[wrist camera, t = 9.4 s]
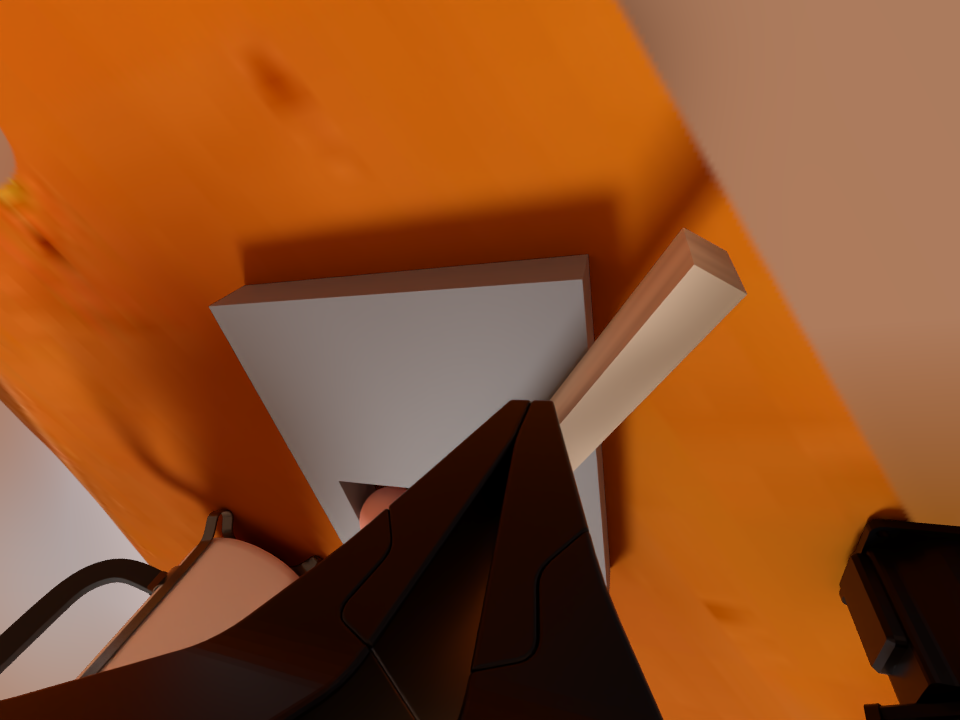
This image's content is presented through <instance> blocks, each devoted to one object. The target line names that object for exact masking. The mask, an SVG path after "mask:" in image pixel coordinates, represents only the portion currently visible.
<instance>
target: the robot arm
mask: <svg viewBox="0 0 960 720" xmlns="http://www.w3.org/2000/svg"><path fill="white" fill-rule="evenodd" d="M840 588H841V589H840V591H839V595H840V597H841V600H842V602H843V603H844V604H846V605H847V606H848V608H849V611H850V613H851V616H852V619H853V621H854V624H855V626H856V629H857V631H858V634H859V636H860V639H861V642H862V644H863V647H864V649H865V652H866V654H867V657H868V660H869V662H870V665H871V666H872V667H873V668H874V669H875V670H876V671H877V672H878V673H881V674H887V675H888V676H889V679H890V681H891V684H892V686H893V689H894V691H895V693H896V696H897V698H898V701H899V703H900V704H899V705H886V706H881V705H880V704H878V703H876V704H864V711H865V716H866V720H960V526H949V525H937V524H927V523H916V522H904V521H893V520H882V519H881V520H872V521H870V522H868V523H867V524H866V526H865V528H864V531H863V533H862V536H861V538H860V541H859V543H858V546H857V549H856V551H855V553H854V554H852V555H851V556H850V558H849V561H848V563H847V566H846V568H845V571H844V573H843V576H842V579H841V581H840ZM0 720H663V718H662V715H661V713H660V711H659V709H658V706H657V704H656V702H655V699H654V697H653V695H652V693H651V690H650V688H649V686H648V683H647V681H646V679H645V677H644V674H643V672H642V670H641V667H640V665H639V663H638V661H637V658H636V656H635V654H634V651H633V649H632V647H631V645H630V642H629V640H628V638H627V636H626V633H625V631H624V629H623V626H622V624H621V622H620V619H619V617H618V614H617V612H616V609H615V607H614V604H613V602H612V599H611V597H610V594H609V592H608V589H607V587H606V584H605V581H604V578H603V575H602V571H601V568H600V565H599V562H598V559H597V556H596V552H595V549H594V545H593V542H592V538H591V535H590V533H589V528H588V524H587V521H586V517H585V514H584V510H583V506H582V503H581V499H580V496H579V492H578V488H577V485H576V481H575V477H574V474H573V470H572V467H571V463H570V459H569V456H568V452H567V449H566V445H565V441H564V438H563V434H562V431H561V427H560V423H559V420H558V416H557V413H556V409H555V405H554V402H553V401H551V400H534V401H532V402H531V401H530V400H510V401H509V402H507V403H506V404H505V405H504V406H503V407H502V408H501V409H499V410H498V411H497V412H496V413H495V414H494V415H493V416H491V417H490V418H489V419H488V420H487V421H486V422H485V423H483V424H482V425H481V426H480V427H479V428H478V429H476V430H475V431H474V432H473V433H472V434H471V435H470V436H468V437H467V438H466V439H465V440H464V441H463V442H462V443H460V444H459V445H458V446H457V447H456V448H455V449H454V450H452V451H451V452H450V453H449V454H448V455H447V456H446V457H444V458H443V459H442V460H441V461H440V462H439V463H437V464H436V465H435V466H434V467H433V468H432V469H431V470H429V471H428V472H427V473H426V474H425V475H424V476H423V477H421V478H420V479H419V480H418V481H417V482H416V483H415V484H413V485H412V486H411V487H410V488H409V489H408V490H407V491H405V492H404V493H403V494H402V495H401V496H400V497H398V498H397V499H396V500H395V501H394V502H393V503H392V504H390V505H389V509H384V510H383V511H382V512H381V513H380V514H379V515H378V516H376V517H375V518H374V519H373V520H372V521H371V522H370V523H368V524H367V525H366V526H365V527H364V528H362V529H361V530H360V531H359V532H358V533H356V534H355V535H354V536H353V537H352V538H350V539H349V540H348V541H347V542H346V543H344V544H343V545H342V546H340V547H339V548H338V549H336V550H335V551H334V552H333V553H331V554H330V555H329V556H327V557H326V558H325V559H323V560H322V561H321V562H320V563H318V564H317V565H316V566H314V567H313V568H312V569H310V570H309V571H307V572H306V573H305V574H303V575H302V576H301V577H299V578H298V579H297V580H295V581H294V582H293V583H291V584H290V585H288V586H287V587H286V588H284V589H283V590H282V591H280V592H279V593H278V594H276V595H275V596H274V597H272V598H271V599H269V600H268V601H267V602H265V603H264V604H263V605H261V606H260V607H259V608H257V609H256V610H255V611H253V612H252V613H251V614H249V615H248V616H246V617H245V618H244V619H242V620H241V621H239V622H238V623H236V624H235V625H233V626H232V627H230V628H228V629H227V630H225V631H223V632H221V633H220V634H218V635H216V636H214V637H212V638H210V639H208V640H206V641H203V642H201V643H198V644H196V645H193V646H190V647H187V648H184V649H181V650H177V651H174V652H170V653H167V654H163V655H160V656H156V657H153V658H149V659H146V660H142V661H139V662H135V663H132V664H128V665H125V666H121V667H118V668H114V669H111V670H107V671H104V672H100V673H97V674H93V675H90V676H86V677H83V678H79V679H76V680H73V681H69V682H65V683H62V684H58V685H55V686H51V687H48V688H44V689H41V690H37V691H34V692H30V693H27V694H23V695H20V696H17V697H12V698H8V699H4V700H0Z"/></svg>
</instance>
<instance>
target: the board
mask: <svg viewBox="0 0 960 720" xmlns="http://www.w3.org/2000/svg"><path fill="white" fill-rule="evenodd" d="M209 308H210V310H211V312H212V313H213V315H214V317H215V319H216V320H217V322H218V324H219V326H220V327H221V329H222V331H223V333H224V335H225V336H226V338H227V340H228V342H229V343H230V345H231V347H232V349H233V350H234V352H235V354H236V356H237V357H238V359H239V361H240V363H241V365H242V366H243V368H244V370H245V372H246V373H247V375H248V377H249V379H250V380H251V382H252V384H253V386H254V388H255V389H256V391H257V393H258V395H259V396H260V398H261V400H262V402H263V403H264V405H265V407H266V409H267V410H268V412H269V414H270V416H271V418H272V419H273V421H274V423H275V425H276V426H277V428H278V430H279V432H280V433H281V435H282V437H283V439H284V441H285V442H286V444H287V446H288V448H289V449H290V451H291V453H292V455H293V456H294V458H295V460H296V462H297V463H298V465H299V467H300V469H301V471H302V472H303V474H304V476H305V478H306V479H307V481H308V483H309V485H310V486H311V488H312V490H313V492H314V493H315V495H316V497H317V499H318V501H319V502H320V504H321V506H322V508H323V509H324V511H325V513H326V515H327V516H328V518H329V520H330V522H331V524H332V525H333V527H334V529H335V531H336V532H337V534H338V536H339V538H340V539H341V541H342V543H343V544H344V543H346V542H347V541H348V540H349V539H350V538H352V537H353V536H354V535H355V534H356V533H358V532H359V531H360V530H361V529H360V523H359V519H360V512H361V509H362V507H363V504H364V503H365V501H366V500H367V498H368V497H369V496H370V495H371V494H372V493H374V492H375V491H376V488H375V486H374V485H384V486H394V487H404V488H410V487H411V486H412V485H413V484H415V483H416V482H417V481H418V480H419V479H420V478H421V477H423V476H424V475H425V474H426V473H427V472H428V471H429V470H431V469H432V468H433V467H434V466H435V465H436V464H437V463H439V462H440V461H441V460H442V459H443V458H444V457H446V456H447V455H448V454H449V453H450V452H451V451H452V450H454V449H455V448H456V447H457V446H458V445H459V444H460V443H462V442H463V441H464V440H465V439H466V438H467V437H468V436H470V435H471V434H472V433H473V432H474V431H475V430H476V429H478V428H479V427H480V426H481V425H482V424H483V423H485V422H486V421H487V420H488V419H489V418H490V417H491V416H493V415H494V414H495V413H496V412H497V411H498V410H499V409H501V408H502V407H503V406H504V405H505V404H506V403H507V402H509V401H510V400H530V401H531V402H532V401H534V400H550V399H551V398H552V397H553V395H554V394H555V393H556V391H557V390H558V389H559V388H560V386H561V385H562V384H563V382H564V381H565V380H566V378H567V377H568V376H569V375H570V373H571V372H572V371H573V369H574V368H575V367H576V366H577V364H578V363H579V362H580V360H581V359H582V358H583V356H584V355H585V354H586V353H587V351H588V350H589V349H590V347H591V346H592V345H593V343H594V330H593V315H592V301H591V287H590V273H589V258H588V254H585V255H574V256H563V257H552V258H541V259H530V260H519V261H508V262H497V263H486V264H475V265H464V266H453V267H442V268H431V269H420V270H409V271H398V272H387V273H376V274H365V275H354V276H343V277H332V278H321V279H310V280H299V281H288V282H277V283H266V284H256V285H245V286H243V287H241V288H239V289H238V290H236V291H234V292H232V293H231V294H229V295H227V296H226V297H224V298H222V299H220V300H219V301H217V302H215V303H213V304H212V305H210V306H209ZM573 474H574V477H575V481H576V485H577V488H578V492H579V496H580V499H581V503H582V506H583V510H584V514H585V517H586V521H587V524H588V528H589V533H590V535H591V538H592V542H593V545H594V549H595V552H596V556H597V559H598V562H599V565H600V568H601V571H602V575H603V578H604V581H605V584H606V587H607V589H608V592H609V586H610V558H609V544H608V529H607V515H606V501H605V487H604V472H603V458H602V444H600V445H599V446H598V447H597V448H596V449H595V450H594V451H593V452H592V453H591V454H590V455H589V456H588V457H587V458H586V459H585V460H584V461H583V462H582V463H581V464H580V465H579V466H578V467H577V468H576V469H575V470H574V472H573Z"/></svg>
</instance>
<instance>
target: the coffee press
mask: <svg viewBox="0 0 960 720" xmlns="http://www.w3.org/2000/svg"><path fill="white" fill-rule="evenodd" d="M220 514H222V516H223V523H222V534H223V536H224V538H213V537H214V534H215V531H216V526H217V521H218V517H219V515H220ZM321 561H322V560H321V559H320V558H319V557H318V556H312V557H310V558H309V559H307V560H306V561H304V562H303V563H301V564H299V565H297V566H287V565H286V564H285V563H284V562H282V561H281V560H280V559H278V558H277V557H275V556H274V555H272V554H270V553H269V552H267V551H265V550H263V549H261V548H259V547H257V546H255V545H252V544H250V543H247V542H244V541H241V540H237V539H236V538H235V536H234V534H233V514H232V512H231V511H229V510H216V511H213V512H211V513H210V514H209V516H208V518H207V522H206V527H205V531H204V535H203V538H202V540H201V541H200V543H199V544H198V545H197V546H196V547H195V548H194V549H193V550H192V551H191V552H190V553H189V554H188V555H187V556H186V558H185V559H184V560H183V561H182V562H181V563H180V564H179V565H178V566H176V567H174V568H172V569H171V570H170V571H169V572H168V573H167V572H165V571H161V570H159V569H157V568H154V567H152V566H150V565H147V564H145V563H141V562H138V561H134V560H130V559H111V560H105V561H102V562H98V563H95V564H93V565H90V566H87V567H85V568H83V569H81V570H79V571H78V572H76V573H74V574H72V575H71V576H69V577H68V578H67V579H65V580H64V581H62V582H61V583H60V584H58V585H57V586H56V587H54V588H53V589H52V590H51V591H50V592H49V593H47V594H46V595H45V596H44V597H43V598H41V599H40V600H39V601H38V602H37V603H36V604H35V605H33V606H32V607H31V608H30V609H29V610H28V611H27V612H26V613H25V614H23V615H22V616H21V617H20V618H19V619H18V620H17V621H16V622H15V623H13V624H12V625H11V626H10V627H9V628H8V629H7V630H6V631H5V632H4V633H3V634H1V635H0V674H1V673H2V672H3V671H4V670H5V669H6V668H7V667H8V666H9V665H10V664H11V663H12V662H13V661H14V660H15V659H16V658H17V657H18V656H19V655H20V654H21V653H22V652H23V651H24V650H25V649H26V648H28V646H30V645H31V644H32V643H33V642H34V641H35V640H36V638H38V637H39V636H40V635H41V634H42V633H43V632H44V631H45V630H46V629H47V628H48V627H49V626H50V625H51V624H52V623H53V622H54V621H55V620H56V619H57V618H58V617H60V615H61V614H63V612H65V611H66V610H67V609H68V608H69V607H70V606H71V605H72V604H73V603H74V602H75V601H77V600H78V599H79V598H80V597H82V596H83V595H84V594H86V593H87V592H89V591H91V590H93V589H94V588H96V587H99V586H102V585H105V584H108V583H114V582H121V583H126V584H129V585H131V586H134V587H136V588H138V589H140V590H143V591H145V592H147V593H149V595H150V597H149V598H148V599H147V601H146V602H145V603H144V604H143V605H142V606H141V607H140V608H139V609H138V610H137V612H136V613H135V614H134V615H133V616H132V617H131V618H130V619H129V620H128V622H127V623H126V624H125V625H124V626H123V627H122V628H121V629H120V630H119V632H118V633H117V634H116V635H115V636H114V637H113V638H112V639H111V640H110V641H109V643H108V644H107V645H106V646H105V647H104V648H103V649H102V650H101V651H100V653H99V654H98V655H97V656H96V657H95V658H94V659H93V660H92V661H91V663H90V664H89V665H88V666H87V667H86V668H85V669H84V670H83V672H82V673H81V674H80V675H79V676H78V677H77V678H76V679H79V678H83V677H86V676H90V675H93V674H97V673H100V672H104V671H107V670H111V669H114V668H118V667H121V666H125V665H128V664H132V663H135V662H139V661H142V660H146V659H149V658H153V657H156V656H160V655H163V654H167V653H170V652H174V651H177V650H181V649H184V648H187V647H190V646H193V645H196V644H198V643H201V642H203V641H206V640H208V639H210V638H212V637H214V636H216V635H218V634H220V633H221V632H223V631H225V630H227V629H228V628H230V627H232V626H233V625H235V624H236V623H238V622H239V621H241V620H242V619H244V618H245V617H246V616H248V615H249V614H251V613H252V612H253V611H255V610H256V609H257V608H259V607H260V606H261V605H263V604H264V603H265V602H267V601H268V600H269V599H271V598H272V597H274V596H275V595H276V594H278V593H279V592H280V591H282V590H283V589H284V588H286V587H287V586H288V585H290V584H291V583H293V582H294V581H295V580H297V579H298V578H299V577H300V576H302V575H303V574H305V573H306V572H307V571H309V570H310V569H312V568H313V567H314V566H316V565H317V564H318V563H320V562H321ZM76 679H75V680H76Z"/></svg>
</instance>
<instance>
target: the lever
mask: <svg viewBox="0 0 960 720" xmlns="http://www.w3.org/2000/svg"><path fill="white" fill-rule="evenodd" d="M746 295H747V293H746V291H745V289H744V287H743V285H742V282H741V280H740V278H739V276H738V274H737V272H736V270H735V268H734V266H733V264H732V262H731V260H730V258H729V255H728V253H727V251H725V250H723V249H721V248H719V247H718V246H716V245H714V244H712V243H710V242H709V241H707V240H705V239H703V238H701V237H700V236H698V235H696V234H694V233H693V232H691V231H689V230H687V229H685V228H684V227H683V228H682V229H681V231H680V232H679V233H678V235H677V236H676V237H675V238H674V240H673V241H672V242H671V244H670V245H669V246H668V248H667V249H666V250H665V251H664V253H663V254H662V255H661V257H660V258H659V259H658V261H657V262H656V263H655V264H654V266H653V267H652V268H651V270H650V271H649V272H648V273H647V275H646V276H645V277H644V279H643V280H642V281H641V283H640V284H639V285H638V286H637V288H636V289H635V290H634V292H633V293H632V294H631V296H630V297H629V298H628V299H627V301H626V302H625V303H624V305H623V306H622V307H621V308H620V310H619V311H618V312H617V314H616V315H615V316H614V318H613V319H612V320H611V321H610V323H609V324H608V325H607V327H606V328H605V329H604V331H603V332H602V333H601V334H600V336H599V337H598V338H597V340H596V341H595V342H594V343H593V345H592V346H591V347H590V349H589V350H588V351H587V353H586V354H585V355H584V356H583V358H582V359H581V360H580V362H579V363H578V364H577V366H576V367H575V368H574V369H573V371H572V372H571V373H570V375H569V376H568V377H567V378H566V380H565V381H564V382H563V384H562V385H561V386H560V388H559V389H558V390H557V391H556V393H555V394H554V395H553V397H552V398H551V399H550V400H551V401H553V402H554V405H555V409H556V413H557V416H558V420H559V423H560V427H561V431H562V434H563V438H564V441H565V445H566V449H567V452H568V456H569V459H570V463H571V467H572V470H573V472H574V470H575V469H576V468H577V467H578V466H579V465H580V464H581V463H582V462H583V461H584V460H585V459H586V458H587V457H588V456H589V455H590V454H591V453H592V452H593V451H594V450H595V449H596V448H597V447H598V446H599V445H600V444H601V443H602V442H603V441H604V440H605V439H606V438H607V437H608V436H609V435H610V434H611V433H612V432H613V431H614V430H615V429H616V428H617V427H618V426H619V425H620V424H621V422H622V421H623V420H624V419H625V418H626V417H627V416H628V415H629V414H630V413H631V412H632V411H633V410H634V409H635V408H636V407H637V406H638V405H639V404H640V403H641V402H642V401H643V400H644V399H645V398H646V397H647V396H648V395H649V394H650V393H651V392H652V391H653V390H654V389H655V388H656V387H657V386H658V385H659V384H660V383H661V382H662V381H663V380H664V379H665V378H666V377H667V375H668V374H669V373H670V372H671V371H672V370H673V369H674V368H675V367H676V366H677V365H678V364H679V363H680V362H681V361H682V360H683V359H684V358H685V357H686V356H687V355H688V354H689V353H690V352H691V351H692V350H693V349H694V348H695V347H696V346H697V345H698V344H699V343H700V342H701V341H702V340H703V339H704V338H705V337H706V336H707V335H708V334H709V333H710V332H711V331H712V330H713V328H714V327H715V326H716V325H717V324H718V323H719V322H720V321H721V320H722V319H723V318H724V317H725V316H726V315H727V314H728V313H729V312H730V311H731V310H732V309H733V308H734V307H735V306H736V305H737V304H738V303H739V302H740V301H741V300H742V299H743V298H744V297H745V296H746Z"/></svg>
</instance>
